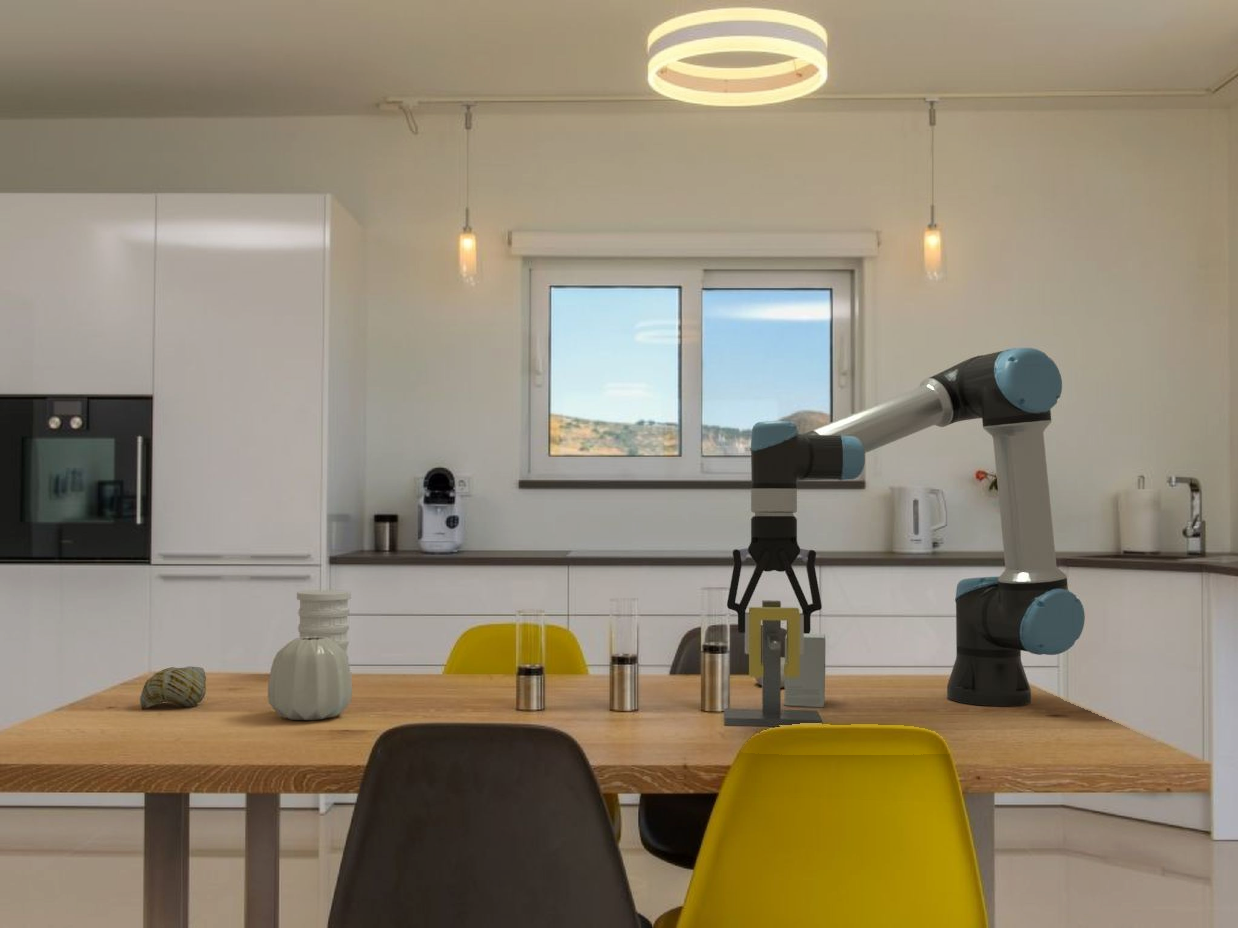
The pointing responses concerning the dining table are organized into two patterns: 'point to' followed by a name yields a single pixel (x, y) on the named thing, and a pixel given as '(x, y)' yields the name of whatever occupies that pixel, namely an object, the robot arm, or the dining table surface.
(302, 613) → the decorative container
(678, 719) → the dining table surface
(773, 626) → the stand
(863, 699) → the dining table surface
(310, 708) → the vase
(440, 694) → the dining table surface
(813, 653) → the supplement box
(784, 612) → the c link
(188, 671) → the seashell
